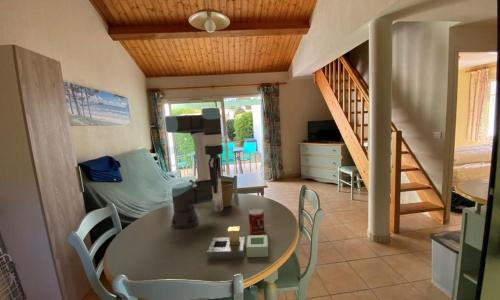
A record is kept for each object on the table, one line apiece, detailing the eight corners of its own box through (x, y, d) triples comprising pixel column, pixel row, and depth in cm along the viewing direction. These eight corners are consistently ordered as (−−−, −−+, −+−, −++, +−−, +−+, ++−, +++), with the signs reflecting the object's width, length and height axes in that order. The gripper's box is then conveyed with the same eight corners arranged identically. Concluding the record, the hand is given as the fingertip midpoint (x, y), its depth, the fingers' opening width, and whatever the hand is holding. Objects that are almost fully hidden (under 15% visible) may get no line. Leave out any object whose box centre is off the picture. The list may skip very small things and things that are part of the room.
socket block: (213, 244, 111) (213, 237, 111) (245, 243, 111) (244, 236, 110) (207, 259, 99) (207, 251, 99) (243, 258, 99) (242, 250, 98)
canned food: (252, 236, 117) (250, 215, 116) (248, 229, 125) (246, 209, 124) (266, 233, 119) (265, 212, 118) (261, 227, 127) (260, 207, 126)
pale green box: (248, 244, 110) (247, 235, 109) (267, 244, 109) (267, 234, 109) (247, 257, 100) (246, 247, 99) (268, 256, 99) (267, 246, 99)
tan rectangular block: (230, 248, 107) (228, 226, 106) (241, 247, 107) (239, 226, 105) (229, 253, 103) (227, 230, 102) (240, 252, 103) (239, 230, 101)
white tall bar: (214, 208, 105) (211, 170, 103) (223, 207, 105) (220, 170, 103) (213, 211, 101) (209, 172, 99) (222, 211, 101) (219, 172, 99)
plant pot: (239, 203, 165) (238, 181, 163) (226, 210, 153) (224, 187, 151) (223, 200, 173) (221, 179, 171) (209, 207, 161) (207, 184, 159)
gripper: (209, 143, 108) (213, 192, 111) (199, 147, 91) (204, 205, 94) (225, 142, 107) (228, 192, 110) (218, 146, 91) (222, 204, 93)
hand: (217, 198), depth 102 cm, fingers closed on white tall bar, 4 cm apart
